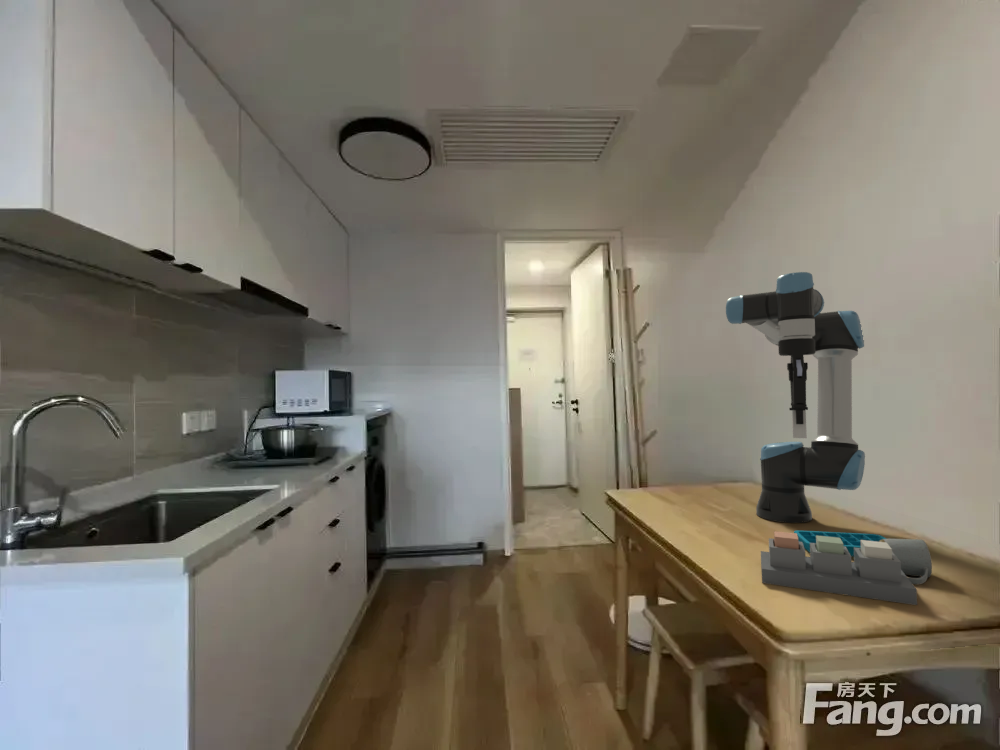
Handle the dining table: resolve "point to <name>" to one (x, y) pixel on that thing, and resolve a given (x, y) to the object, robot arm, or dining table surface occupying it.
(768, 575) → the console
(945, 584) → the dining table surface
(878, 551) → the ivory key
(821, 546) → the sage key
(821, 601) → the dining table surface
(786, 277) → the robot arm
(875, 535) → the ice cube tray
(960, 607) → the dining table surface
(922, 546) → the ceramic mug
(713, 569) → the dining table surface
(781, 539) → the terracotta key
